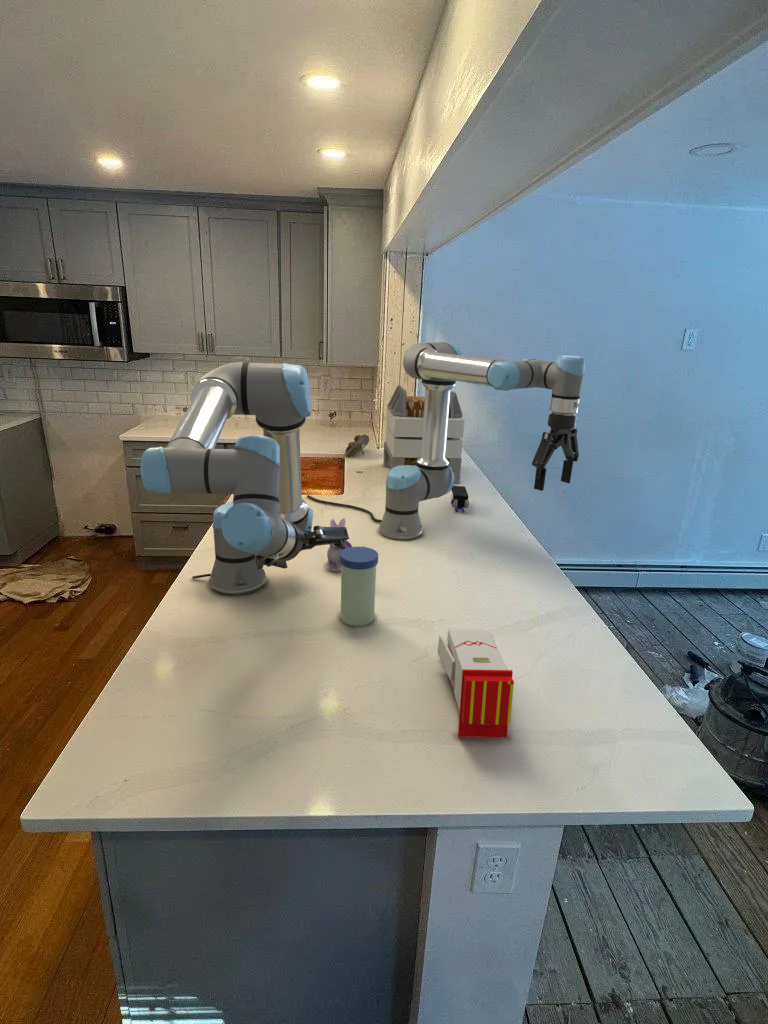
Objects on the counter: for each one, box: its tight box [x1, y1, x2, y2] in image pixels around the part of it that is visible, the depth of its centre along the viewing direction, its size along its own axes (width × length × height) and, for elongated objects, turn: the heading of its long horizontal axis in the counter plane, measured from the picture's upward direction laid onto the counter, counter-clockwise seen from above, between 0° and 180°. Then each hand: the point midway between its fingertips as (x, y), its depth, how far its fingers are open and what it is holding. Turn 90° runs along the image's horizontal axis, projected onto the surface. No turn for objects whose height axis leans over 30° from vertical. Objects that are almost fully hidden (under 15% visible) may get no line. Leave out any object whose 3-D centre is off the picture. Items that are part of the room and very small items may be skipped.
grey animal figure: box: [344, 433, 370, 458], centre depth 304 cm, size 22×10×15 cm
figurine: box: [326, 517, 353, 572], centre depth 171 cm, size 9×10×15 cm
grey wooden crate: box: [383, 384, 465, 484], centre depth 268 cm, size 34×33×41 cm
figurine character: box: [450, 485, 470, 513], centre depth 227 cm, size 7×8×15 cm
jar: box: [340, 565, 377, 627], centre depth 142 cm, size 9×9×17 cm
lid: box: [340, 546, 379, 570], centre depth 140 cm, size 9×9×2 cm
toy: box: [437, 628, 515, 738], centre depth 117 cm, size 12×13×30 cm
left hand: (313, 552), depth 123 cm, fingers open, 13 cm apart
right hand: (552, 485), depth 166 cm, fingers open, 13 cm apart
